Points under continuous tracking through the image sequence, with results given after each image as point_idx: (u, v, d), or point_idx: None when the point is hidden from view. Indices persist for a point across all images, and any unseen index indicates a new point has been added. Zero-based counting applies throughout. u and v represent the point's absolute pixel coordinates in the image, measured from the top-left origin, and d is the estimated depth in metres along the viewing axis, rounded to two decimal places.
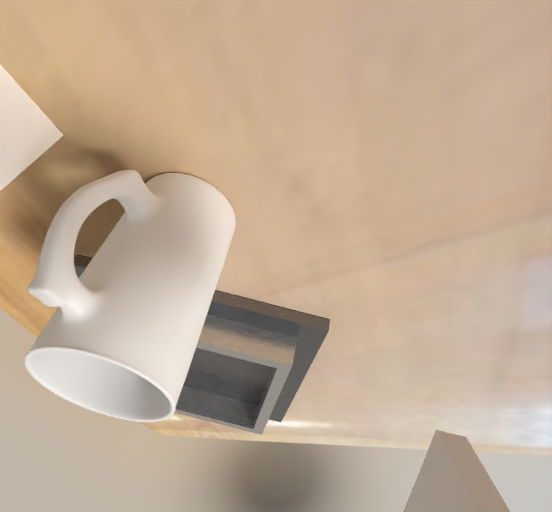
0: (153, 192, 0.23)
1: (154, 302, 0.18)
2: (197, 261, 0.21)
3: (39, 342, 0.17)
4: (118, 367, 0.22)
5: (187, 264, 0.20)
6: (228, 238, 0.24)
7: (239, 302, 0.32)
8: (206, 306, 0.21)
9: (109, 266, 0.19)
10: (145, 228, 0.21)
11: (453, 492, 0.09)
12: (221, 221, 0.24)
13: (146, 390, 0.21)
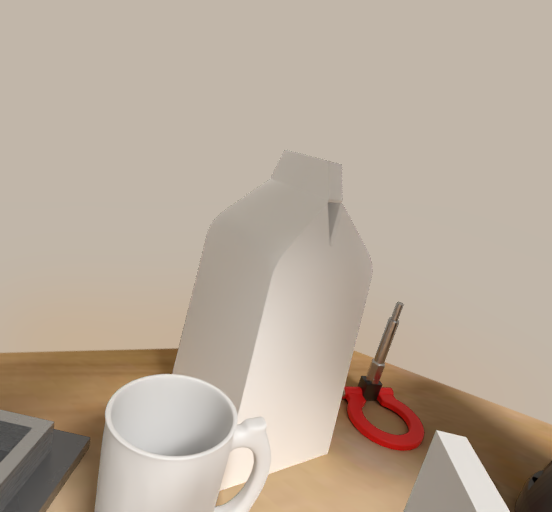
0: None
1: (214, 490, 0.21)
2: None
3: None
4: (117, 427, 0.23)
5: None
6: None
7: None
8: None
9: None
10: None
11: (453, 492, 0.09)
12: None
13: None
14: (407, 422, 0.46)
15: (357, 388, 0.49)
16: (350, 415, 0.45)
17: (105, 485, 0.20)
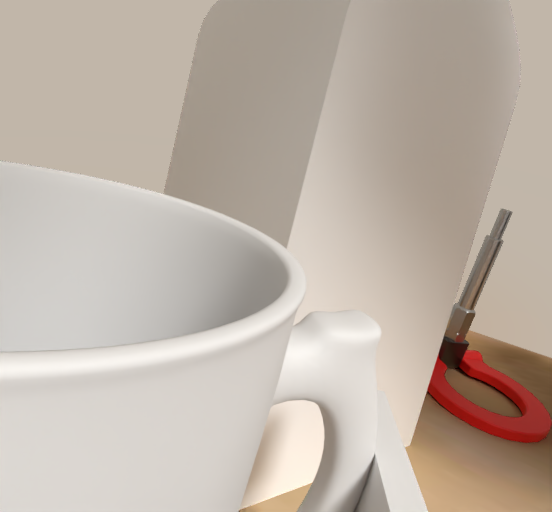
0: None
1: None
2: None
3: None
4: None
5: None
6: None
7: None
8: None
9: None
10: None
11: None
12: None
13: None
14: (516, 399, 0.29)
15: None
16: (430, 386, 0.28)
17: None
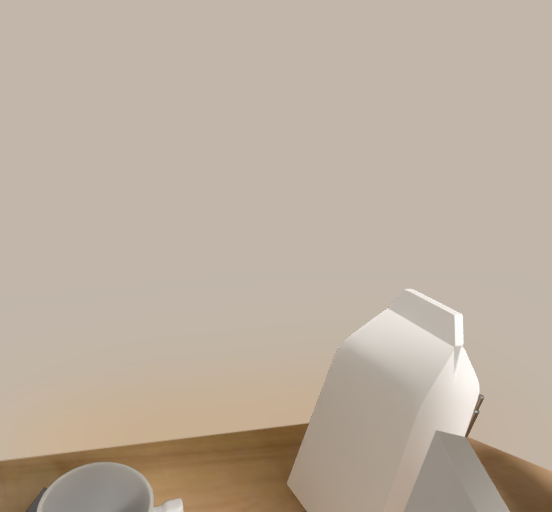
0: None
1: None
2: None
3: None
4: None
5: None
6: None
7: None
8: None
9: None
10: None
11: (453, 492, 0.09)
12: None
13: None
14: None
15: None
16: None
17: None
